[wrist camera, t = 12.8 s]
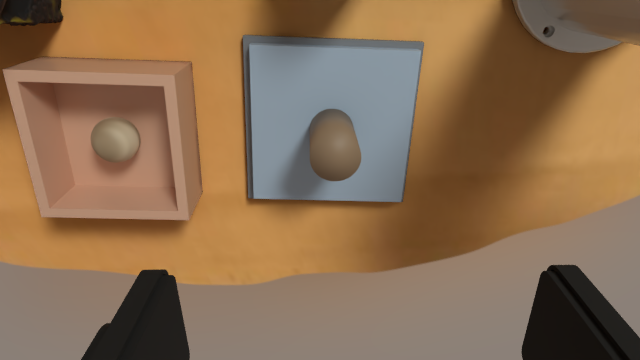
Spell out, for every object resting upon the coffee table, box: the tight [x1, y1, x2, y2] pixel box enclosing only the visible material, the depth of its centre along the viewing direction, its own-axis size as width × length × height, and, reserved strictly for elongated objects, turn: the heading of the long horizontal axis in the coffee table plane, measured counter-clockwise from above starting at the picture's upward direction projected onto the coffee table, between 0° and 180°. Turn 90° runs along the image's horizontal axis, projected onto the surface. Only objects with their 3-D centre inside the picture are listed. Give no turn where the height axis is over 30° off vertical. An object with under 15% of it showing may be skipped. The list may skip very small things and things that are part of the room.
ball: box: [91, 117, 141, 163], centre depth 35 cm, size 4×4×4 cm
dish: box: [2, 57, 203, 220], centre depth 35 cm, size 12×12×5 cm
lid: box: [249, 43, 421, 202], centre depth 34 cm, size 13×13×7 cm
